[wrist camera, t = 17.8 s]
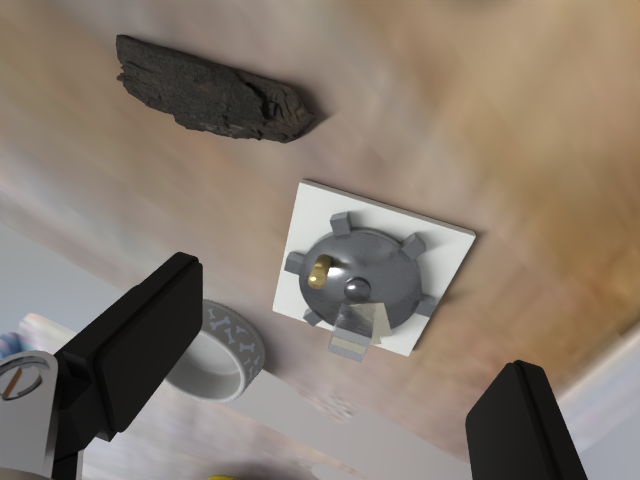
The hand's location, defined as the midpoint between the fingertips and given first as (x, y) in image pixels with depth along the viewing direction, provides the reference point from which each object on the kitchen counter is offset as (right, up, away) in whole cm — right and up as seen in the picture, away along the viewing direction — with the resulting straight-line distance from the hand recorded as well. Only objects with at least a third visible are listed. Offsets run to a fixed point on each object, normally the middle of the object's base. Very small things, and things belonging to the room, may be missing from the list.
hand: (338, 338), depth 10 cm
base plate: (+4, -1, +30) cm, 31 cm away
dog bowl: (-18, -13, +43) cm, 49 cm away
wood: (-11, +18, +24) cm, 32 cm away
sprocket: (+4, -2, +29) cm, 29 cm away
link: (+3, -7, +30) cm, 31 cm away
